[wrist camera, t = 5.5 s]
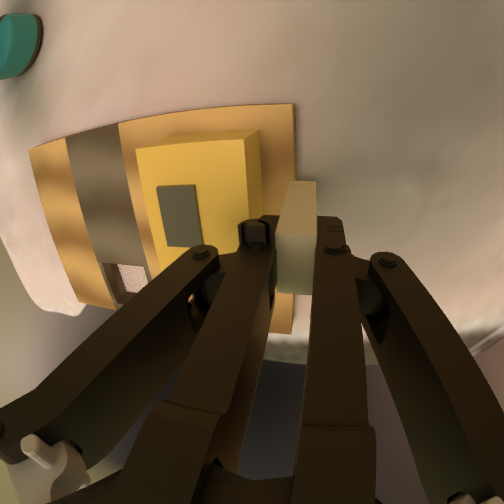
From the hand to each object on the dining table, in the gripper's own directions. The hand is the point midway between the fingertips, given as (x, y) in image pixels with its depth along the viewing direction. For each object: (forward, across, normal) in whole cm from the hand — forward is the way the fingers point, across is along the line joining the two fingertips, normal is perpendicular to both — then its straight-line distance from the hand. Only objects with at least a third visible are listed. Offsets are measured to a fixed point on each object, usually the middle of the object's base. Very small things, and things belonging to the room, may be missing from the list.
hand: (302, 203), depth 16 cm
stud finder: (+2, -6, 0) cm, 6 cm away
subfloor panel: (+4, -13, -3) cm, 14 cm away
